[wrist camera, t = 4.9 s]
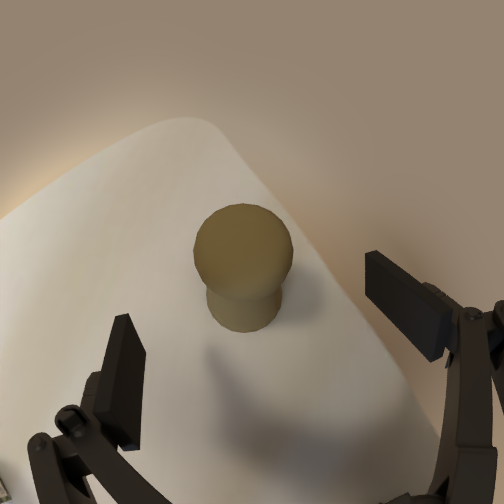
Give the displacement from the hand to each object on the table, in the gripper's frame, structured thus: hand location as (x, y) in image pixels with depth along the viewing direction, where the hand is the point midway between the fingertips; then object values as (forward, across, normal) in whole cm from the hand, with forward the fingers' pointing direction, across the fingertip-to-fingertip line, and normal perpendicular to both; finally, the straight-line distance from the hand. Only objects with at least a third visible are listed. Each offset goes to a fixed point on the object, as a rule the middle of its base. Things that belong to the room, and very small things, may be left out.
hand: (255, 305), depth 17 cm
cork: (+8, 0, -4) cm, 9 cm away
